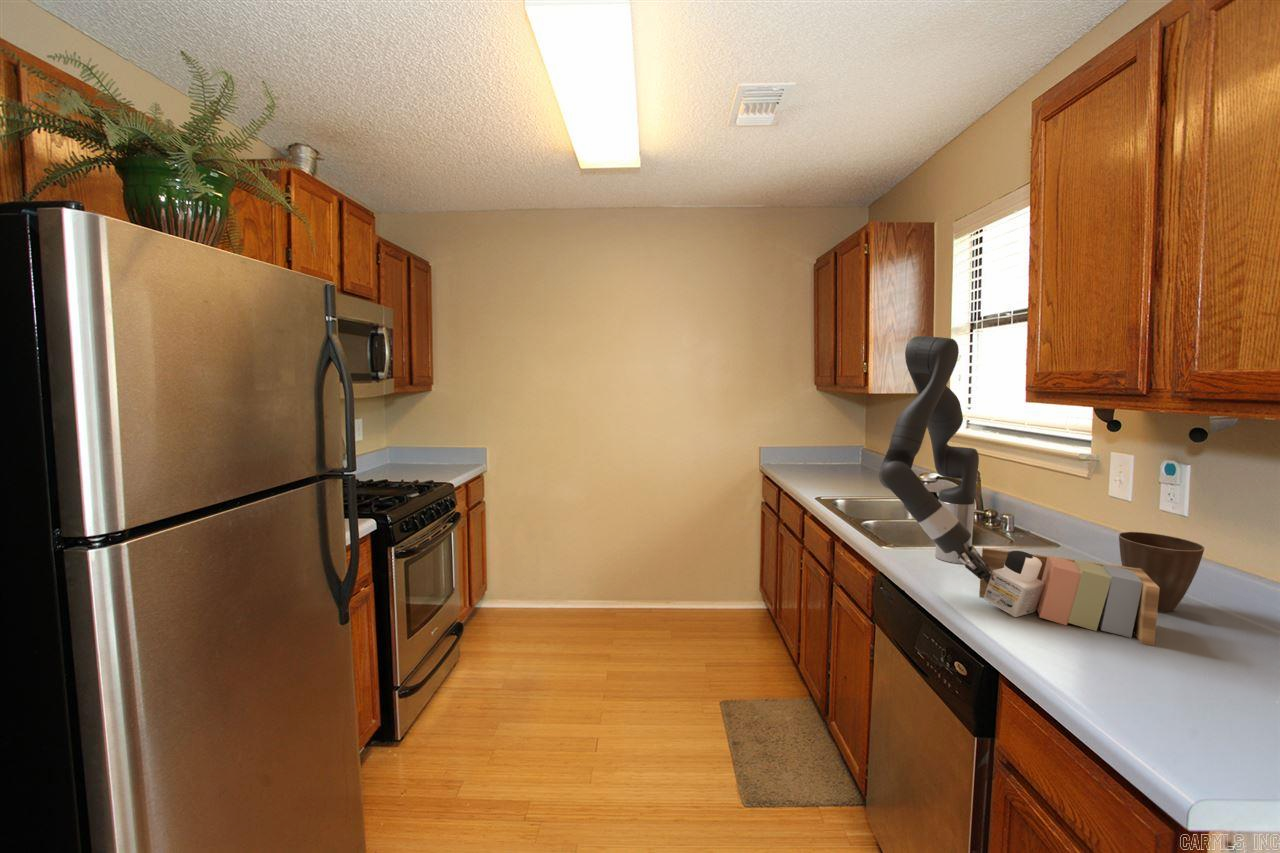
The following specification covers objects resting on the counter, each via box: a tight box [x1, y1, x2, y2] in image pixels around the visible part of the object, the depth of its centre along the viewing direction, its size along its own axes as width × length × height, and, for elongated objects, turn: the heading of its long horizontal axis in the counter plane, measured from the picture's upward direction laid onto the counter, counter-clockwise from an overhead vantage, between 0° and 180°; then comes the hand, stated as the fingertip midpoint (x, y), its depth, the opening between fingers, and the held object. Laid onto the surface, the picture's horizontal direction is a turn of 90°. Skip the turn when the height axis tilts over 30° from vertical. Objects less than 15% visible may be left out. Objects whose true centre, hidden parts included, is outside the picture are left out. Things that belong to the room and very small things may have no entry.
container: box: [983, 550, 1045, 618], centre depth 132 cm, size 8×8×13 cm
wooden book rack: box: [978, 547, 1160, 647], centre depth 128 cm, size 14×30×12 cm, turn 61°
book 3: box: [1098, 563, 1143, 638], centre depth 124 cm, size 9×5×12 cm, turn 151°
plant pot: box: [1118, 531, 1205, 613], centre depth 136 cm, size 15×15×16 cm
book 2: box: [1067, 558, 1112, 632], centre depth 127 cm, size 9×5×12 cm, turn 151°
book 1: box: [1036, 555, 1081, 626], centre depth 129 cm, size 9×5×12 cm, turn 151°
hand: (999, 588), depth 134 cm, fingers closed
